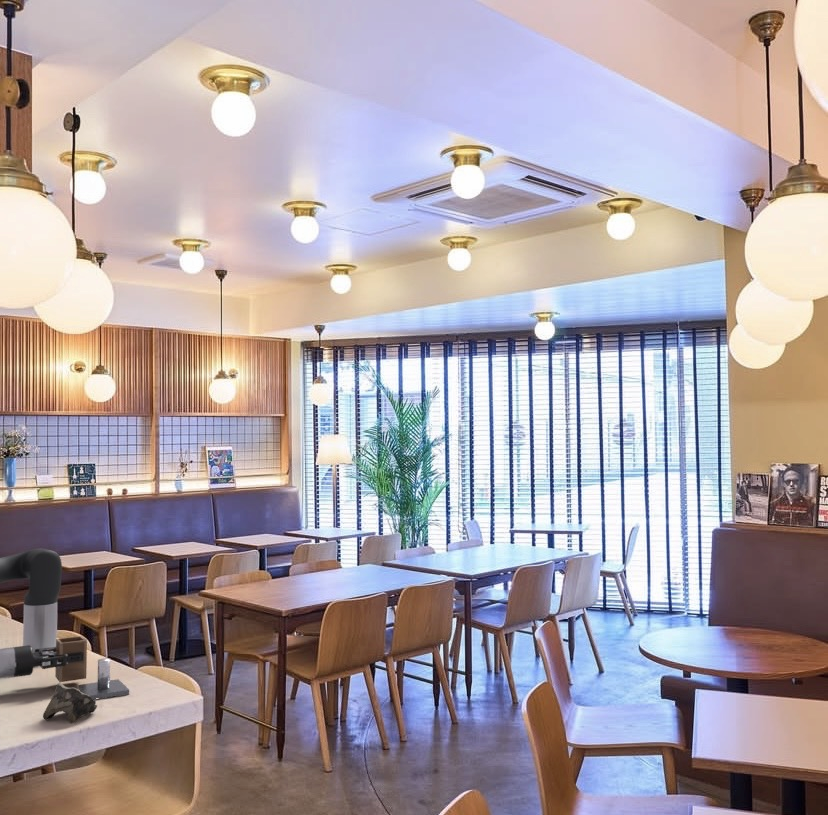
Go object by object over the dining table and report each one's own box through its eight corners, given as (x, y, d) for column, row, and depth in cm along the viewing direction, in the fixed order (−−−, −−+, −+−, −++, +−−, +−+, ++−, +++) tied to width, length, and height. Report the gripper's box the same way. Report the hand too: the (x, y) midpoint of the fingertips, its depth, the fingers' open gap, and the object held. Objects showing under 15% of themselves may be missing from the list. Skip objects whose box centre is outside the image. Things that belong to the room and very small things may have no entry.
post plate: (78, 689, 214) (79, 657, 214) (118, 683, 219) (118, 652, 220) (87, 700, 204) (88, 667, 204) (129, 694, 209) (129, 661, 210)
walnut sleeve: (55, 676, 219) (56, 638, 220) (81, 673, 223) (82, 635, 224) (59, 682, 214) (60, 643, 214) (86, 678, 217) (86, 640, 218)
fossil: (106, 707, 196) (98, 675, 192) (87, 737, 188) (79, 704, 184) (63, 704, 198) (55, 672, 193) (43, 734, 189) (33, 701, 185)
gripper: (8, 671, 217) (75, 662, 226) (15, 683, 205) (85, 673, 214) (8, 642, 217) (75, 634, 226) (15, 653, 205) (85, 644, 214)
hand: (80, 653), depth 220 cm, fingers closed on walnut sleeve, 6 cm apart
